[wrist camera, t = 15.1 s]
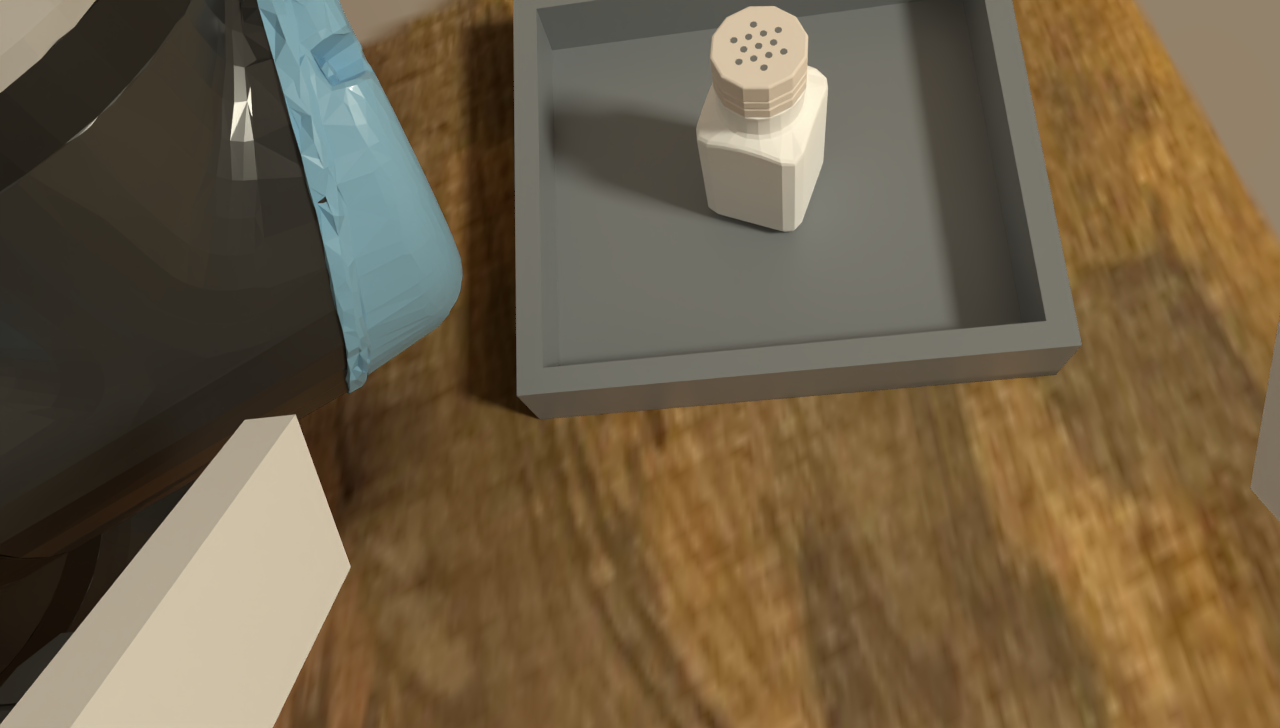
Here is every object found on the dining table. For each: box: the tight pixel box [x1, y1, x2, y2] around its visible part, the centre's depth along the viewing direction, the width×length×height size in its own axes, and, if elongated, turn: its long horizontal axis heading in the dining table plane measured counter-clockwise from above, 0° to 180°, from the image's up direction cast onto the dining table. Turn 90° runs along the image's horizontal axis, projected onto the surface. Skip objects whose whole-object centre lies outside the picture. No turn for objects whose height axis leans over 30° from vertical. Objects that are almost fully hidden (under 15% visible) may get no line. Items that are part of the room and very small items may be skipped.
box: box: [513, 0, 1082, 419], centre depth 39 cm, size 20×18×4 cm
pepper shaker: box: [696, 6, 828, 232], centre depth 35 cm, size 4×4×10 cm
